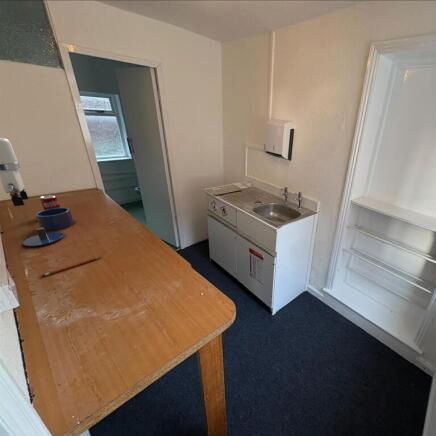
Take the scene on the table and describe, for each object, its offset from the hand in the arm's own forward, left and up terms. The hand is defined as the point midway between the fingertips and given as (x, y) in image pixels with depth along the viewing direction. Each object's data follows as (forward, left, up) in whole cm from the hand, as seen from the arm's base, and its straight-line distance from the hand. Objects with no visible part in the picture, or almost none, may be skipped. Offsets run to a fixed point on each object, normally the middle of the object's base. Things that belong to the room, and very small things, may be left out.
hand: (21, 202), depth 111 cm
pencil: (+15, -40, -20) cm, 47 cm away
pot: (+7, +15, -20) cm, 26 cm away
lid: (+3, -4, -19) cm, 20 cm away
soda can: (+4, +36, -20) cm, 42 cm away
